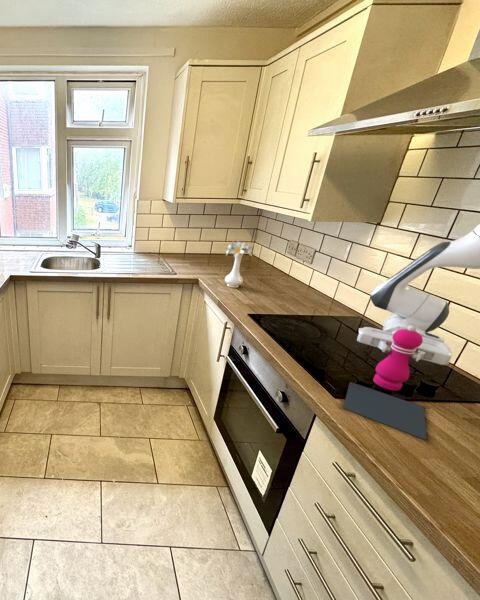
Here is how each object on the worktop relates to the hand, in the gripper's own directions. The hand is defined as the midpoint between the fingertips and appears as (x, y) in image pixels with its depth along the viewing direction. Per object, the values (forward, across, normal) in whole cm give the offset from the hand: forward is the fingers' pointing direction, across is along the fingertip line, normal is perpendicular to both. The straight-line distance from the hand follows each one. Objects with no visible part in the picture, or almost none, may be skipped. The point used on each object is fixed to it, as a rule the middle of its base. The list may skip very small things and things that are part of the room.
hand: (400, 354), depth 91 cm
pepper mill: (-1, 0, +11) cm, 11 cm away
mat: (+14, 0, +11) cm, 17 cm away
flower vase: (-60, -67, +11) cm, 91 cm away
